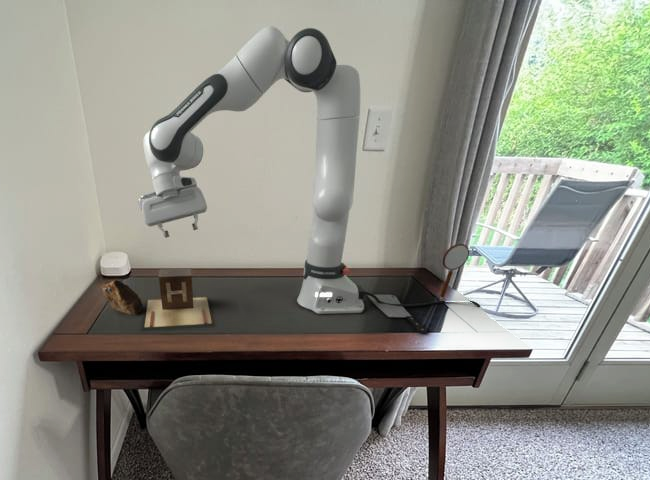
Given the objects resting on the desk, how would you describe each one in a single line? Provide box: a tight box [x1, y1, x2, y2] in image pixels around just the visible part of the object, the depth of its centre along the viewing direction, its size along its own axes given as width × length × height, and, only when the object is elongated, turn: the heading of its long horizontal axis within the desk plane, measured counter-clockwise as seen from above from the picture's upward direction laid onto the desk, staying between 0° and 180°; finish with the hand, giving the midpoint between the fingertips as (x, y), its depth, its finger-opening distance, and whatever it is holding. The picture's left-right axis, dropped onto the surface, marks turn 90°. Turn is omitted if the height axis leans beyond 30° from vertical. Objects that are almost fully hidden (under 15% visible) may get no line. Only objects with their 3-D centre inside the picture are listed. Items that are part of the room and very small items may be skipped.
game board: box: [144, 296, 213, 328], centre depth 114 cm, size 20×20×1 cm
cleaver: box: [366, 293, 428, 335], centre depth 116 cm, size 29×1×10 cm
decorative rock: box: [101, 279, 143, 316], centre depth 111 cm, size 12×6×11 cm, turn 66°
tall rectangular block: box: [158, 267, 194, 310], centre depth 114 cm, size 10×7×11 cm
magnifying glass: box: [439, 243, 470, 301], centre depth 120 cm, size 9×2×20 cm, turn 97°
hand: (181, 233), depth 113 cm, fingers open, 8 cm apart
